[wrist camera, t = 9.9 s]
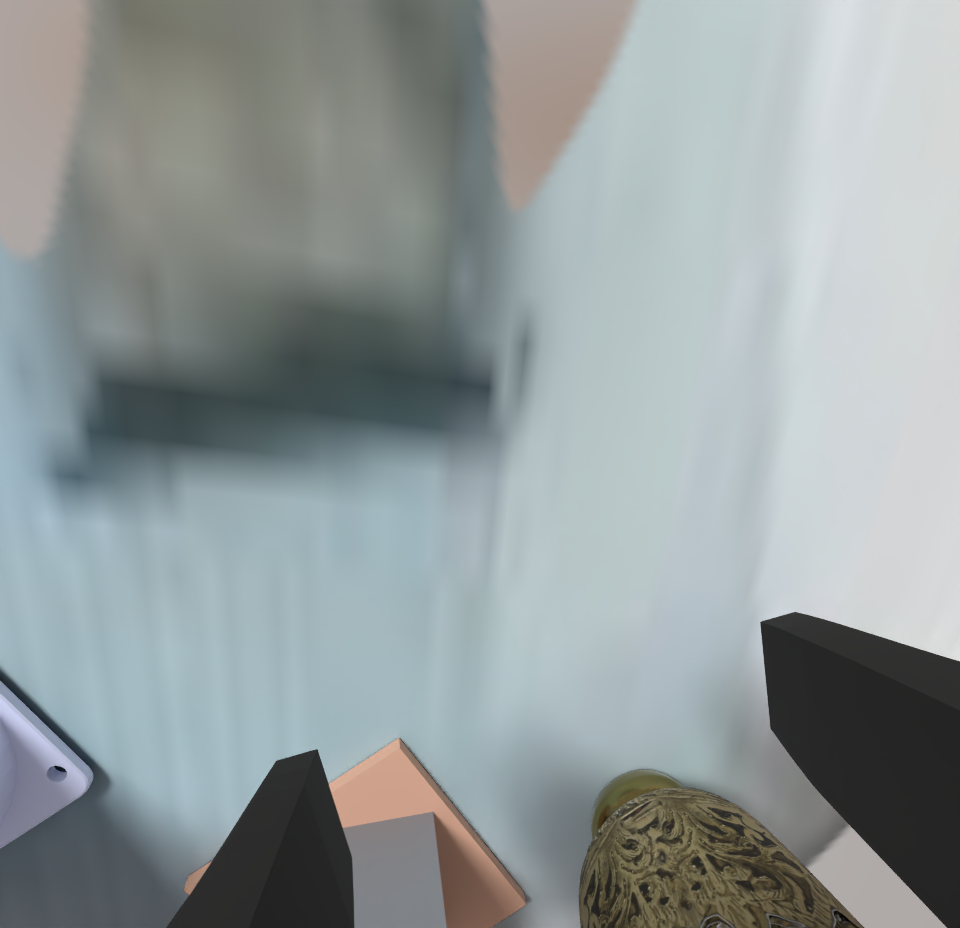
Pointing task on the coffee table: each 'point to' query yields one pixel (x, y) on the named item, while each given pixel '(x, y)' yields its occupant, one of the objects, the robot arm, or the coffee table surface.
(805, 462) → the coffee table surface
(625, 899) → the cup
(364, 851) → the letter block
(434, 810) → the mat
